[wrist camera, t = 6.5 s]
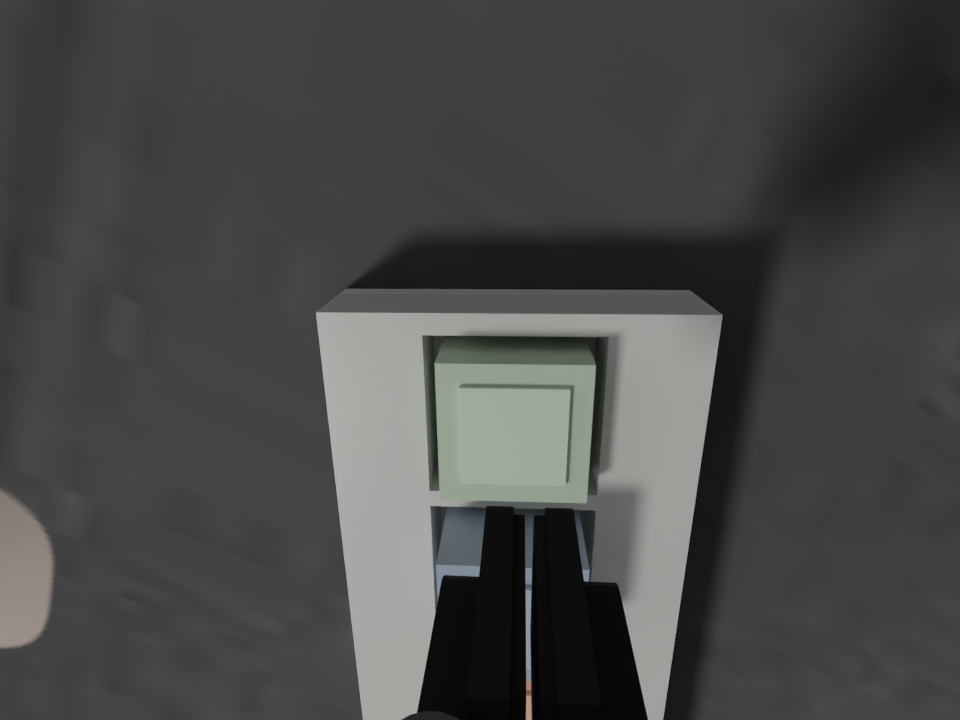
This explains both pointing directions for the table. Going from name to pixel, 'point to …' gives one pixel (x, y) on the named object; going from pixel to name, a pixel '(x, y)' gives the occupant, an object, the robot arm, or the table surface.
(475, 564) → the key slate
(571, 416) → the key sage
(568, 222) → the table surface
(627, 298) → the keypad
